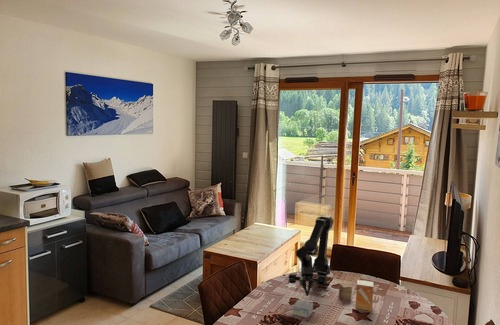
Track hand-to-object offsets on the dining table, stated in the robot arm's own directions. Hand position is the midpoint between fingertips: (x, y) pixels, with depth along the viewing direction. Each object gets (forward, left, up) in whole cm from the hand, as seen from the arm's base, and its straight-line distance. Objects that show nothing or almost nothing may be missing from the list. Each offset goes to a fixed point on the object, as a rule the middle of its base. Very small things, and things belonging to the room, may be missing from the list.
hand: (307, 295), depth 194 cm
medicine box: (-2, 0, -5) cm, 6 cm away
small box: (+1, +30, -8) cm, 31 cm away
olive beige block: (-11, +25, -8) cm, 29 cm away
